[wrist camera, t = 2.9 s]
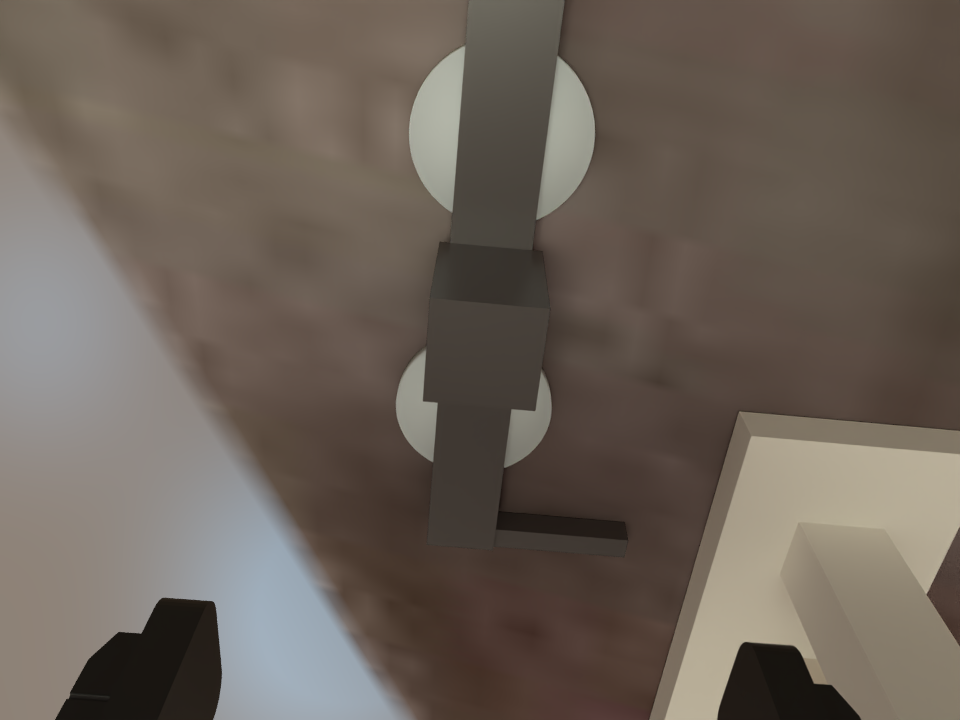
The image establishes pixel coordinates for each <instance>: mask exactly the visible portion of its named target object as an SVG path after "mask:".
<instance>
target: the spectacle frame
mask: <svg viewBox="0 0 960 720" xmlns="http://www.w3.org/2000/svg"><path fill="white" fill-rule="evenodd" d="M564 1H565V0H469V5H468V18H467V31H466V44H464V45H462V46H461V47H459V48H457V49H455V50H454V51H452V52H451V53H449V54H448V55H447V56H446V57H444V58H443V59H442V60H441V61H440V62H439V63H438V64H437V65H436V66H435V67H434V68H433V69H432V71H431V72H430V73H429V75H428V76H427V77H426V79H425V81H424V83H423V84H422V86H421V88H420V90H419V92H418V94H417V97H416V99H415V102H414V105H413V108H412V113H411V117H410V125H409V143H410V150H411V155H412V159H413V162H414V166H415V168H416V170H417V173H418V175H419V177H420V179H421V180H422V182H423V184H424V186H425V187H426V188H427V190H428V191H429V192H430V194H431V195H432V196H433V197H434V198H435V199H436V200H437V201H438V202H439V203H440V204H441V205H442V206H444V207H445V208H446V209H447V210H449V211H450V212H452V224H451V237H450V243H447V242H440V243H439V249H438V255H437V260H436V266H435V271H434V277H433V282H432V288H431V293H430V300H429V315H428V330H427V345H426V346H425V347H424V348H423V349H421V350H420V351H419V352H418V353H417V354H416V355H415V356H414V357H413V358H412V359H411V360H410V362H409V363H408V365H407V366H406V368H405V370H404V372H403V374H402V376H401V380H400V383H399V387H398V392H397V398H396V414H397V419H398V422H399V425H400V428H401V430H402V432H403V434H404V436H405V438H406V439H407V440H408V442H409V443H410V444H411V445H412V447H413V448H414V449H415V450H416V451H417V452H419V453H420V454H421V455H422V456H423V457H425V458H426V459H428V460H430V461H431V462H433V470H432V482H431V495H430V508H429V521H428V534H427V545H435V546H447V547H459V548H471V549H483V550H493V547H505V548H517V549H529V550H541V551H553V552H565V553H577V554H589V555H601V556H613V557H625V552H626V548H627V544H628V537H627V532H626V528H625V523H624V522H614V521H602V520H591V519H579V518H567V517H555V516H543V515H531V514H519V513H507V512H498V509H499V501H500V493H501V486H502V478H503V470H504V468H506V467H508V466H510V465H513V464H515V463H516V462H518V461H520V460H522V459H523V458H524V457H526V456H527V455H528V454H530V453H531V452H532V451H533V450H534V449H535V448H536V447H537V445H538V444H539V443H540V442H541V440H542V439H543V437H544V435H545V433H546V431H547V429H548V426H549V423H550V419H551V411H552V404H551V393H550V387H549V383H548V380H547V377H546V375H545V372H544V371H543V369H542V363H543V356H544V349H545V342H546V336H547V329H548V322H549V315H550V303H549V295H548V288H547V281H546V274H545V267H544V260H543V253H542V251H533V250H532V247H533V240H534V232H535V224H536V220H538V219H540V218H542V217H544V216H546V215H548V214H549V213H551V212H552V211H554V210H555V209H557V208H558V207H559V206H560V205H562V204H563V203H564V202H565V201H566V200H567V199H568V198H569V197H570V196H571V195H572V194H573V192H574V191H575V190H576V188H577V187H578V186H579V184H580V183H581V181H582V179H583V177H584V175H585V173H586V171H587V169H588V166H589V164H590V161H591V158H592V153H593V149H594V141H595V122H594V116H593V110H592V107H591V103H590V100H589V97H588V95H587V93H586V91H585V89H584V87H583V85H582V83H581V81H580V80H579V78H578V77H577V75H576V73H575V72H574V71H573V70H572V68H571V67H570V66H569V65H568V64H567V63H566V62H565V61H564V60H563V59H562V58H561V57H560V56H558V48H559V40H560V32H561V24H562V17H563V9H564Z"/></svg>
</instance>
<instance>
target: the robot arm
mask: <svg viewBox="0 0 960 720" xmlns="http://www.w3.org/2000/svg"><path fill="white" fill-rule="evenodd" d="M221 679H222V669H221V657H220V646H219V636H218V625H217V614H216V607H215V604H214V602H212V601H200V600H187V599H173V598H162V599H161V600H159V602H158V603H157V604H156V606H155V608H154V610H153V612H152V614H151V616H150V618H149V620H148V622H147V624H146V626H145V628H144V630H143V632H142V634H139V633H125V632H118V633H117V634H116V635H115V636H114V637H113V638H111V640H109V641H108V642H107V643H106V644H105V645H104V646H103V647H102V648H101V649H99V650H98V651H97V652H96V653H95V654H94V655H93V656H92V657H91V658H90V659H89V660H88V661H87V663H86V665H85V667H84V669H83V670H82V672H81V674H80V676H79V677H78V679H77V681H76V683H75V685H74V686H73V688H72V690H71V692H70V697H69V699H66V701H65V703H64V705H63V706H62V708H61V710H60V712H59V714H58V716H57V717H56V719H55V720H213V718H214V715H215V712H216V709H217V705H218V700H219V695H220V688H221ZM717 720H861V718H860V716H859V715H858V714H857V713H856V712H855V710H854V709H853V708H852V707H851V706H850V705H849V704H848V703H847V701H846V700H845V699H844V698H843V697H842V696H841V695H840V694H839V693H838V691H837V690H836V689H835V688H834V687H833V686H832V685H826V684H814V682H813V680H812V678H811V675H810V673H809V671H808V668H807V666H806V664H805V661H804V659H803V657H802V655H801V653H800V651H799V650H798V649H797V648H796V647H795V646H793V645H781V644H767V643H753V642H744V643H742V644H741V646H740V647H739V650H738V652H737V655H736V658H735V661H734V664H733V667H732V670H731V673H730V676H729V679H728V682H727V685H726V688H725V691H724V694H723V697H722V700H721V703H720V706H719V710H718V717H717Z"/></svg>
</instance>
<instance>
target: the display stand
mask: <svg viewBox="0 0 960 720" xmlns="http://www.w3.org/2000/svg"><path fill="white" fill-rule="evenodd" d="M959 527H960V431H955V430H944V429H933V428H922V427H910V426H899V425H888V424H877V423H865V422H854V421H843V420H832V419H820V418H809V417H798V416H786V415H775V414H764V413H753V412H741V411H739V413H738V416H737V420H736V423H735V427H734V430H733V434H732V437H731V440H730V444H729V447H728V451H727V454H726V458H725V461H724V464H723V468H722V471H721V475H720V478H719V482H718V485H717V489H716V492H715V495H714V499H713V502H712V506H711V509H710V513H709V516H708V519H707V523H706V526H705V530H704V533H703V537H702V540H701V543H700V547H699V550H698V554H697V557H696V561H695V564H694V568H693V571H692V574H691V578H690V581H689V585H688V588H687V592H686V595H685V598H684V602H683V605H682V609H681V612H680V616H679V619H678V622H677V626H676V629H675V633H674V636H673V640H672V643H671V646H670V650H669V653H668V657H667V660H666V664H665V667H664V671H663V674H662V677H661V681H660V684H659V688H658V691H657V695H656V698H655V701H654V705H653V708H652V712H651V715H650V719H649V720H717V717H718V710H719V706H720V703H721V700H722V697H723V694H724V691H725V688H726V685H727V682H728V679H729V676H730V673H731V670H732V667H733V664H734V661H735V658H736V655H737V652H738V650H739V647H740V646H741V644H742V643H744V642H753V643H767V644H781V645H793V646H795V647H796V648H797V649H798V650H799V651H800V653H801V655H802V657H803V659H804V661H805V664H806V666H807V668H808V671H809V673H810V675H811V678H812V680H813V682H814V684H826V685H832V686H833V687H834V688H835V689H836V690H837V691H838V693H839V694H840V695H841V696H842V697H843V698H844V699H845V700H846V701H847V703H848V704H849V705H850V706H851V707H852V708H853V709H854V710H855V712H856V713H857V714H858V715H859V716H860V718H861V720H960V646H959V645H958V643H957V642H956V640H955V638H954V637H953V635H952V634H951V632H950V631H949V629H948V628H947V626H946V624H945V623H944V621H943V620H942V618H941V617H940V615H939V613H938V612H937V610H936V609H935V607H934V606H933V604H932V603H931V601H930V599H929V598H928V596H927V595H926V594H927V592H928V590H929V588H930V586H931V584H932V582H933V580H934V578H935V576H936V574H937V572H938V570H939V568H940V566H941V564H942V562H943V560H944V557H945V555H946V553H947V551H948V549H949V547H950V545H951V543H952V541H953V539H954V537H955V535H956V533H957V531H958V529H959Z"/></svg>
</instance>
